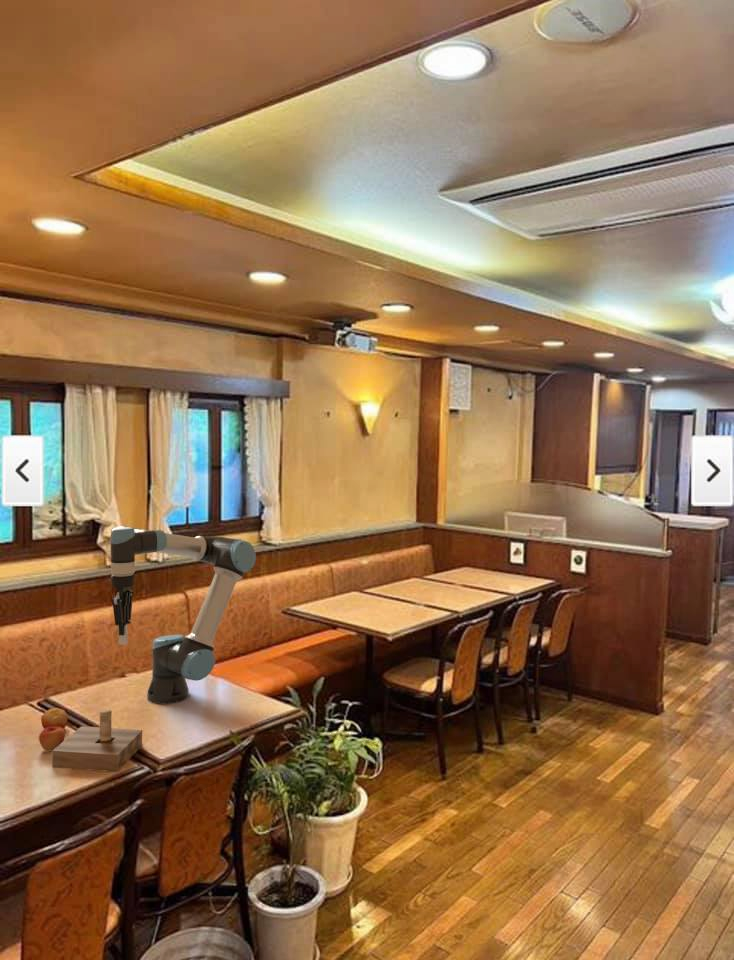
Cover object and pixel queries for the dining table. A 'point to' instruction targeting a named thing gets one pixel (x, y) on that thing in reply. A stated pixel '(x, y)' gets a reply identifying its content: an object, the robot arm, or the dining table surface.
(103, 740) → the peg
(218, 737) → the dining table surface
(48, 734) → the apple
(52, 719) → the fruit
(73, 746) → the board
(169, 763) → the dining table surface
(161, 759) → the dining table surface
